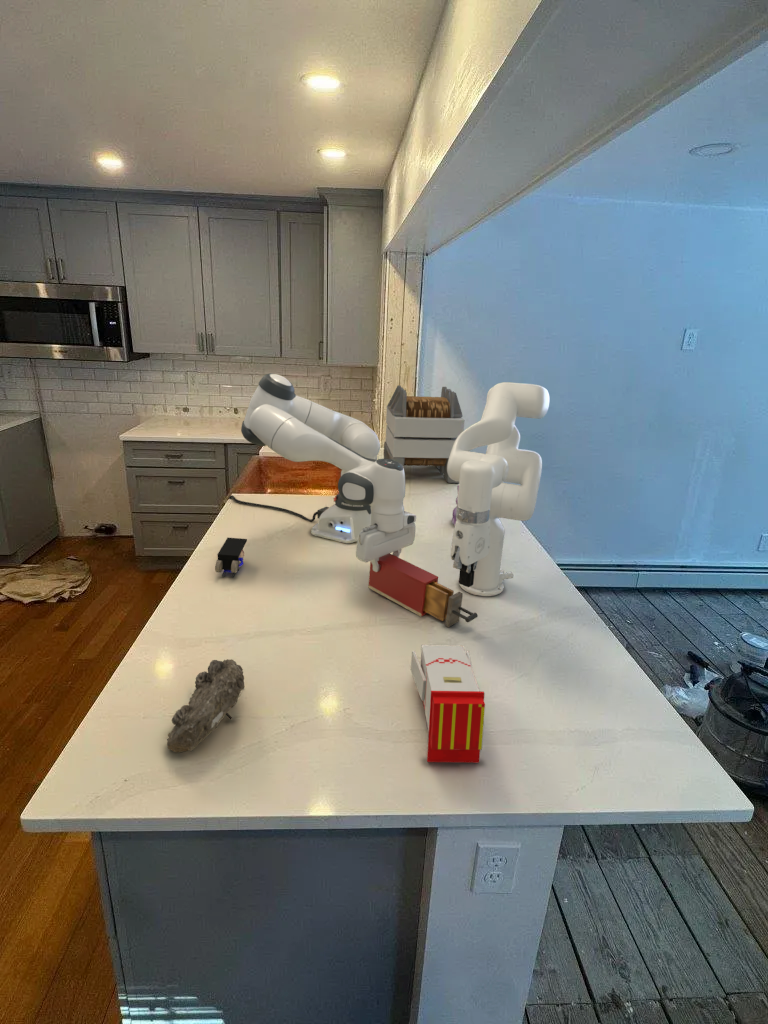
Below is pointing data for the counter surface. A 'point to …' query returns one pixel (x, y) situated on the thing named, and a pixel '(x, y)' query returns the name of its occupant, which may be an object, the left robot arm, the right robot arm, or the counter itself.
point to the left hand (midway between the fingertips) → (385, 567)
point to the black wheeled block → (230, 556)
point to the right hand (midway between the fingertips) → (465, 584)
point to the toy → (450, 703)
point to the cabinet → (401, 582)
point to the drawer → (445, 604)
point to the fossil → (206, 705)
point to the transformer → (422, 429)
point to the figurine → (455, 510)
